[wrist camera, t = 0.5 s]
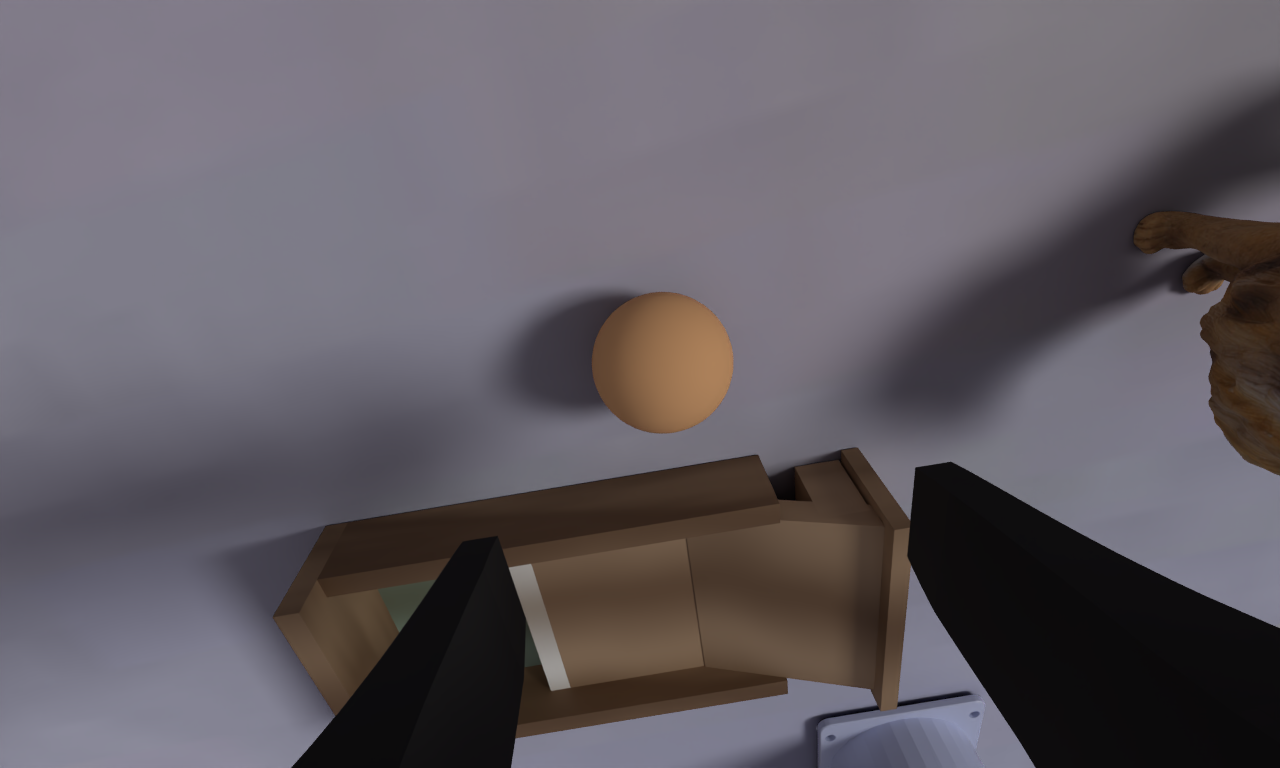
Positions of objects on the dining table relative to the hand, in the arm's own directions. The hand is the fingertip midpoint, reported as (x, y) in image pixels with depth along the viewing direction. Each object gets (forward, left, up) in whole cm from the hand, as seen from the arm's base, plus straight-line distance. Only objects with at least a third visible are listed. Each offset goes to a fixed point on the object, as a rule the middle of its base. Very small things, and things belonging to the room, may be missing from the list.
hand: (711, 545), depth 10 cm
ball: (0, 0, -7) cm, 7 cm away
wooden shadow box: (-10, +3, -9) cm, 14 cm away
